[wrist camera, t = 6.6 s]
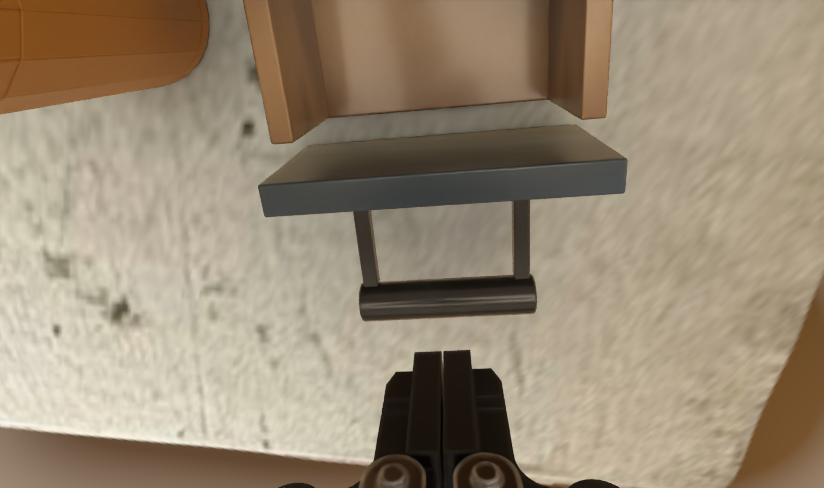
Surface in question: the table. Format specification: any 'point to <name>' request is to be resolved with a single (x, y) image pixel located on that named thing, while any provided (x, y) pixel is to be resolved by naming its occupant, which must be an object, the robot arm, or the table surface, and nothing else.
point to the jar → (95, 48)
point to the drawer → (442, 154)
